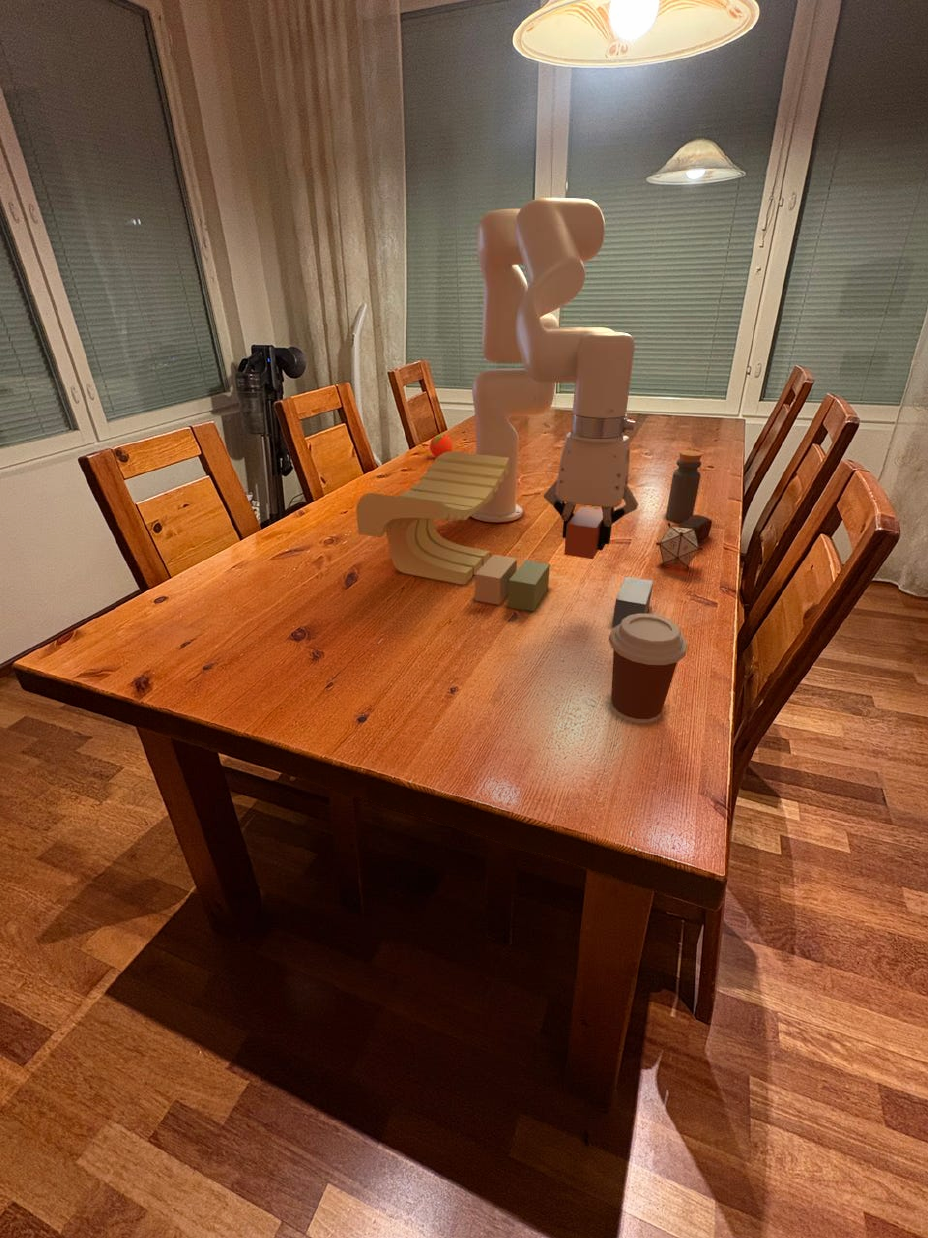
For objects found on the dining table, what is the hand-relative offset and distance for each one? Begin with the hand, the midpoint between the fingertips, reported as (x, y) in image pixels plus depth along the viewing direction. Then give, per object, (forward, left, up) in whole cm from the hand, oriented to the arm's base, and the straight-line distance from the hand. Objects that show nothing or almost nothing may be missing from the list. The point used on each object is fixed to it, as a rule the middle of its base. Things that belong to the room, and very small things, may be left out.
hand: (585, 543), depth 96 cm
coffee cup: (+13, -24, -12) cm, 30 cm away
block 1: (-15, 0, -11) cm, 19 cm away
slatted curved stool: (-29, +7, -12) cm, 32 cm away
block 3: (+9, 0, -11) cm, 14 cm away
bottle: (+11, +52, -12) cm, 54 cm away
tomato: (-62, +79, -12) cm, 101 cm away
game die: (+13, +24, -12) cm, 30 cm away
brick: (+15, +38, -12) cm, 43 cm away
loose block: (0, 0, -1) cm, 1 cm away
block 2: (-9, 0, -11) cm, 15 cm away
